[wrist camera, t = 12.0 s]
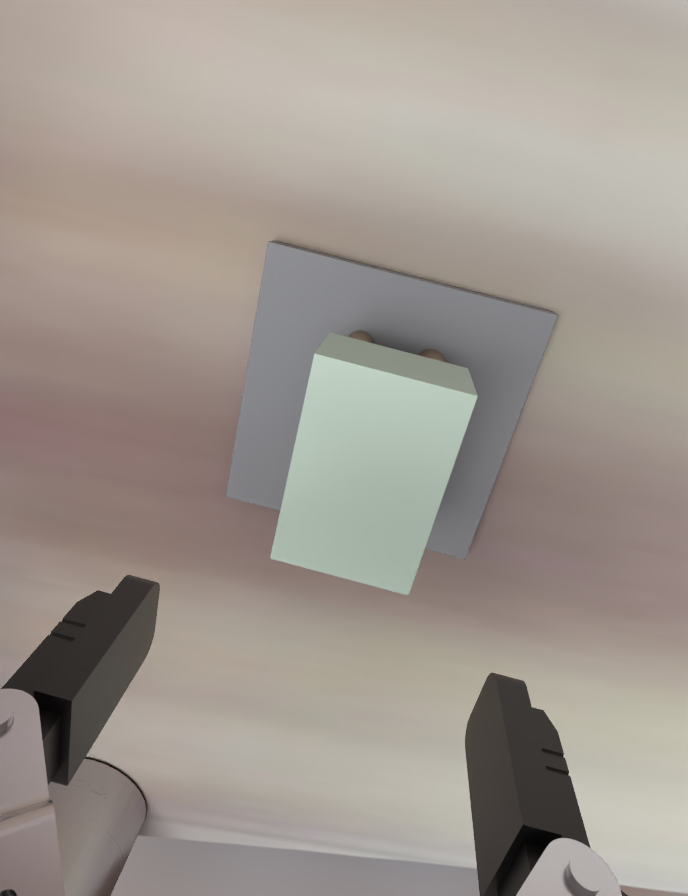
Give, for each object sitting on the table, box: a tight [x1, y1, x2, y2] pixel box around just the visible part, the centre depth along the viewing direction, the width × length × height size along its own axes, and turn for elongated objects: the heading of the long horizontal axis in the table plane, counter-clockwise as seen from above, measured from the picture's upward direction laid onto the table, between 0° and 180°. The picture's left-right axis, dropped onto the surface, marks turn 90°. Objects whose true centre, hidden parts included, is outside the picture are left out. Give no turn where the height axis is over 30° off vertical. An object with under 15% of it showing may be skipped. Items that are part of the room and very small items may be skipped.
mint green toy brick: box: [270, 330, 478, 595], centre depth 25 cm, size 6×9×8 cm, turn 167°
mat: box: [226, 241, 558, 559], centre depth 30 cm, size 14×14×1 cm
